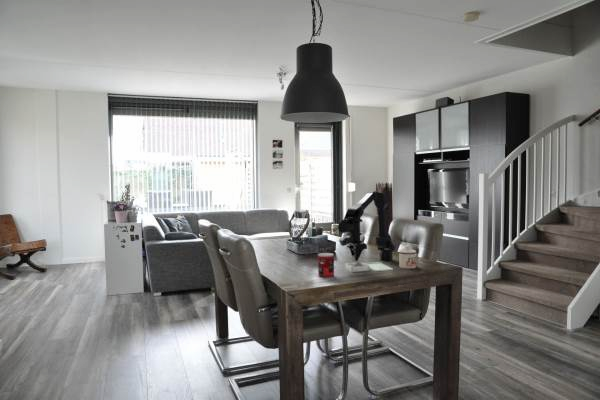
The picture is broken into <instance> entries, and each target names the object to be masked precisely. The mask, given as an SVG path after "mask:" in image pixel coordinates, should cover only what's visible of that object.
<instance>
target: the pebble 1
mask: <svg viewBox="0 0 600 400" xmlns="http://www.w3.org/2000/svg"><path fill="white" fill-rule="evenodd" d="M350 260H351V261H352V263H357V262H359V260H360V258H359V259H358V261H356V260H355V255H353V256H352V255H351V259H350Z"/></svg>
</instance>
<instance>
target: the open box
mask: <svg viewBox="0 0 600 400" xmlns="http://www.w3.org/2000/svg"><path fill="white" fill-rule="evenodd" d="M355 263H356V262H346V263H344V269H346V270H347V271H349V272H351V273H357V272H369V271H370V270H371V269H370V266H369V265H367V264H365V263H366V262H363V261H361V262H360V263H361V264H362V266H358V267H355V266H354V265H355Z"/></svg>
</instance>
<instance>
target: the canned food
mask: <svg viewBox="0 0 600 400" xmlns="http://www.w3.org/2000/svg"><path fill="white" fill-rule="evenodd" d="M317 270H318V271H317V273H318V276H319V277H320V278H332V277H334V276H335V255H334V253H332V252H320V253H317Z"/></svg>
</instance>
